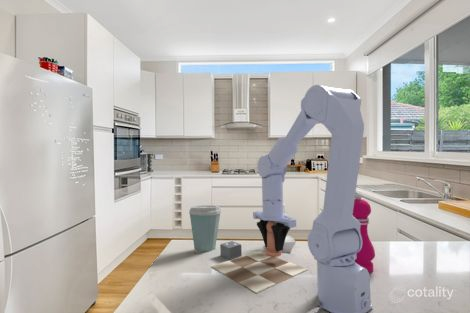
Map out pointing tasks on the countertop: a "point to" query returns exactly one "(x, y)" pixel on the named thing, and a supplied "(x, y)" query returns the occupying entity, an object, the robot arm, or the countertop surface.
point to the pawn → (271, 241)
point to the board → (258, 271)
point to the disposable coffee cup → (204, 226)
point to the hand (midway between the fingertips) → (273, 248)
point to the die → (230, 250)
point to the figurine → (288, 238)
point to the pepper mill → (363, 233)
